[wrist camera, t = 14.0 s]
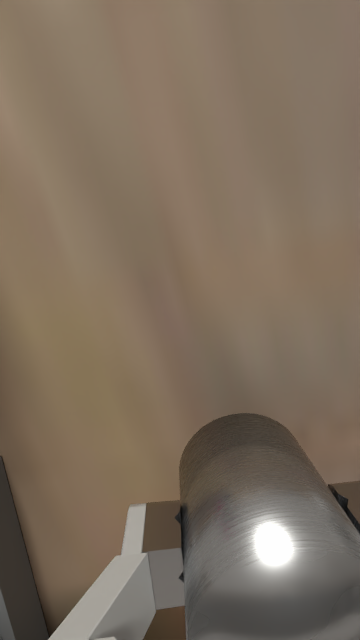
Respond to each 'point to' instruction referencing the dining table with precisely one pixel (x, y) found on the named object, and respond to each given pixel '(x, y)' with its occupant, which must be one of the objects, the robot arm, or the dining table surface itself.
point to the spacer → (263, 539)
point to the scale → (16, 577)
